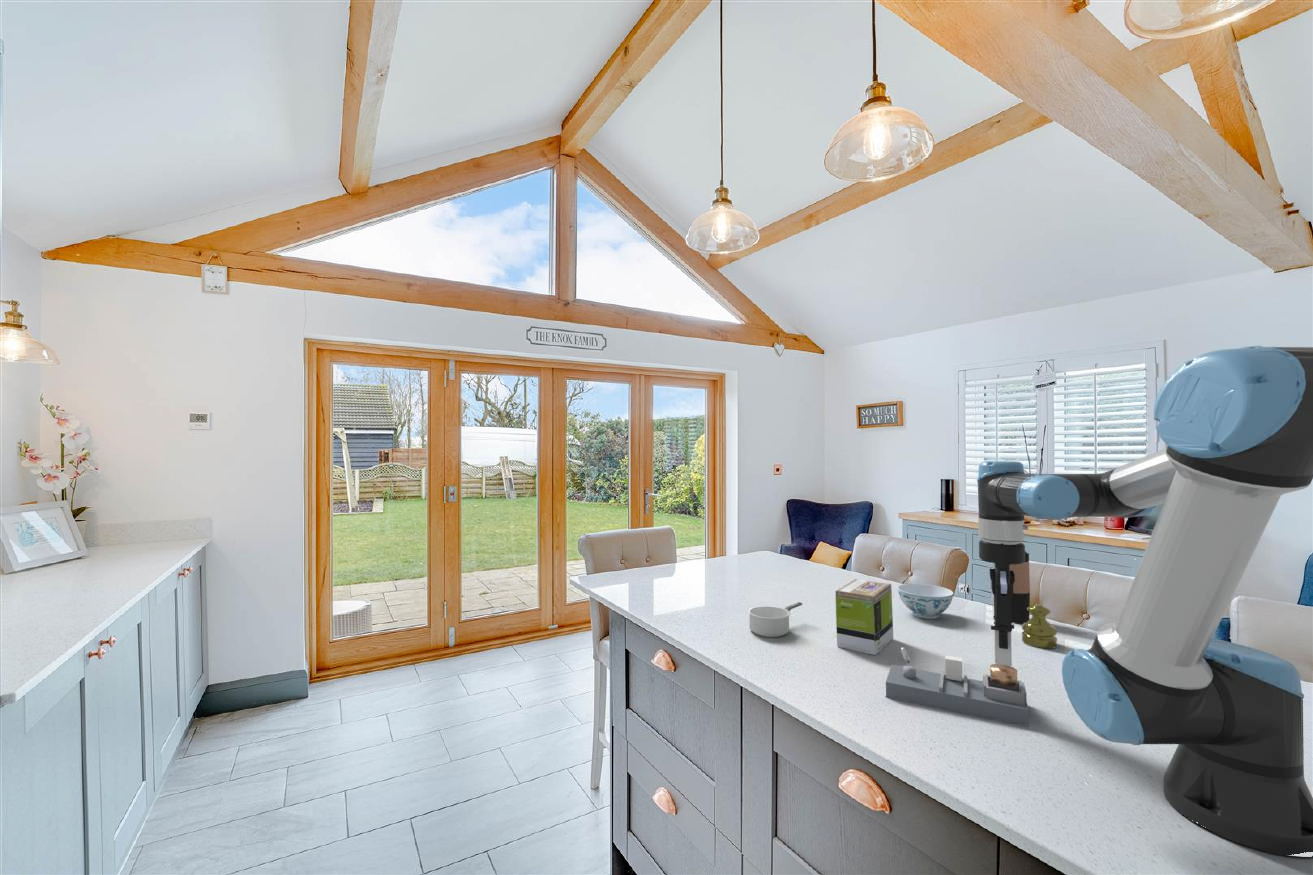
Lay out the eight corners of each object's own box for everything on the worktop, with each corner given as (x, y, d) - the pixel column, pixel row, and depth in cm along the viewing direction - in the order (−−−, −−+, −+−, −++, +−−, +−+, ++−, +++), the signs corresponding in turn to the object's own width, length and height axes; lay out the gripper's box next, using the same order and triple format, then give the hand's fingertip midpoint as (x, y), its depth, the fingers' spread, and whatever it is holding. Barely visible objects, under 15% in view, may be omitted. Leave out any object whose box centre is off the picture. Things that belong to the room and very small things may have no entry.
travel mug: (993, 617, 160) (992, 550, 161) (1009, 614, 164) (1008, 548, 164) (1019, 625, 153) (1018, 554, 154) (1036, 621, 157) (1035, 552, 157)
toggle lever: (910, 663, 112) (904, 648, 112) (905, 663, 112) (899, 648, 113) (910, 661, 113) (905, 646, 113) (905, 662, 113) (900, 647, 114)
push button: (1018, 688, 101) (1018, 674, 101) (990, 683, 103) (990, 670, 103) (1016, 679, 105) (1016, 666, 105) (989, 674, 107) (989, 662, 107)
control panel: (1028, 726, 98) (1028, 698, 98) (886, 696, 110) (885, 671, 110) (1023, 703, 107) (1023, 678, 107) (891, 678, 119) (891, 655, 119)
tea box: (856, 631, 149) (855, 577, 149) (894, 639, 143) (893, 583, 143) (835, 647, 138) (834, 588, 138) (876, 656, 131) (875, 595, 132)
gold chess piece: (1057, 651, 134) (1056, 610, 134) (1020, 644, 138) (1020, 605, 139) (1057, 642, 140) (1056, 603, 140) (1022, 636, 144) (1022, 599, 144)
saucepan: (817, 626, 154) (817, 606, 154) (772, 642, 141) (772, 621, 141) (785, 616, 163) (784, 598, 163) (739, 631, 150) (739, 611, 150)
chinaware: (887, 610, 168) (886, 585, 168) (926, 606, 172) (925, 581, 172) (924, 625, 153) (924, 598, 154) (965, 620, 158) (965, 594, 158)
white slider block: (962, 681, 109) (961, 661, 109) (945, 678, 111) (945, 658, 111) (962, 677, 111) (962, 658, 111) (945, 674, 113) (945, 655, 113)
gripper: (1028, 548, 97) (1030, 680, 97) (1021, 537, 109) (1023, 655, 108) (979, 544, 101) (981, 671, 101) (978, 534, 112) (979, 648, 112)
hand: (1003, 663), depth 104 cm, fingers closed
